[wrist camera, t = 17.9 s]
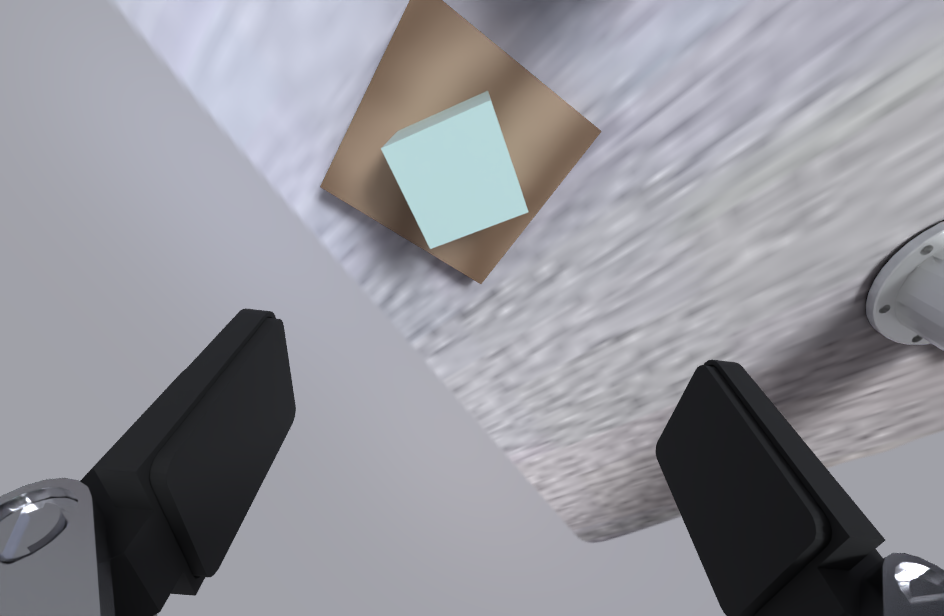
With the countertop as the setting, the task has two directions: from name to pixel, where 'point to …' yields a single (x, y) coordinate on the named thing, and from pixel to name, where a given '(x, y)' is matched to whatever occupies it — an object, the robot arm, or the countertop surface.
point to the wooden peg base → (436, 89)
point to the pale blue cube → (456, 171)
